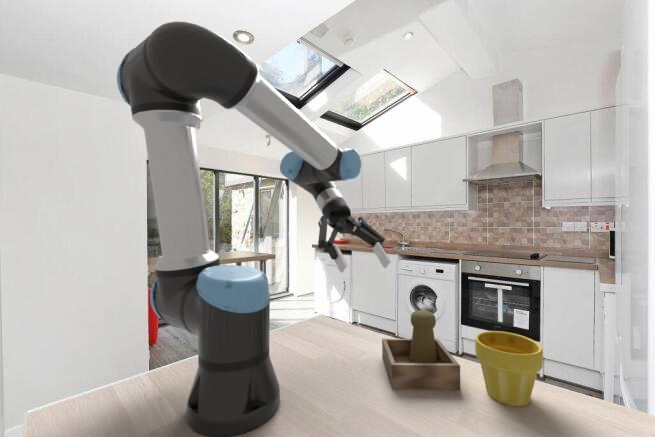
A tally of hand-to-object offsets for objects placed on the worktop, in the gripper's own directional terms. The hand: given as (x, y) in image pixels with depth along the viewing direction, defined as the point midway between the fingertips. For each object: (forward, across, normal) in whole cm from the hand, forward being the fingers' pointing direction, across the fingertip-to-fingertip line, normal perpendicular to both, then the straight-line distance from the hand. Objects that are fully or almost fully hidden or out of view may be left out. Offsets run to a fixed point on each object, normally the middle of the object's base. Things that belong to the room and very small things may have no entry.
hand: (366, 266), depth 73 cm
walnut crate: (+24, -2, -4) cm, 25 cm away
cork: (+23, -5, -5) cm, 24 cm away
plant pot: (+34, -9, +6) cm, 36 cm away
